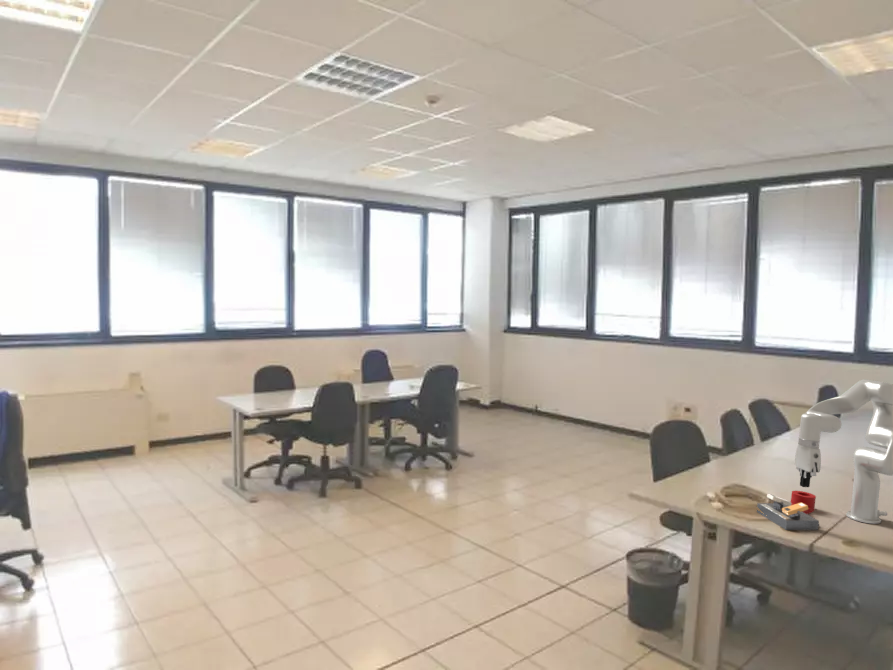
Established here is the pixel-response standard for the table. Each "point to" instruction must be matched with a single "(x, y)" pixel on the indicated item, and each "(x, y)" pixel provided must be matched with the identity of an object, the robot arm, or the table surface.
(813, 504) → the lever
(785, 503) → the block
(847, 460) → the table surface
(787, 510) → the breaker lever
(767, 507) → the breaker strip
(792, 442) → the table surface
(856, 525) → the table surface
